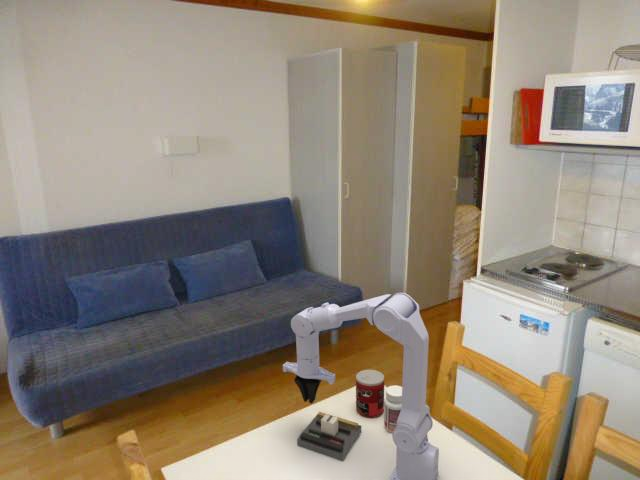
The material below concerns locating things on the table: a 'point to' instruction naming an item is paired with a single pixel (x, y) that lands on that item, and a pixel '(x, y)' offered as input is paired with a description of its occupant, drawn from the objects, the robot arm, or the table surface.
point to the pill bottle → (392, 407)
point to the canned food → (370, 393)
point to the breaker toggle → (329, 424)
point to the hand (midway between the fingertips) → (309, 400)
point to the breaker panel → (330, 438)
